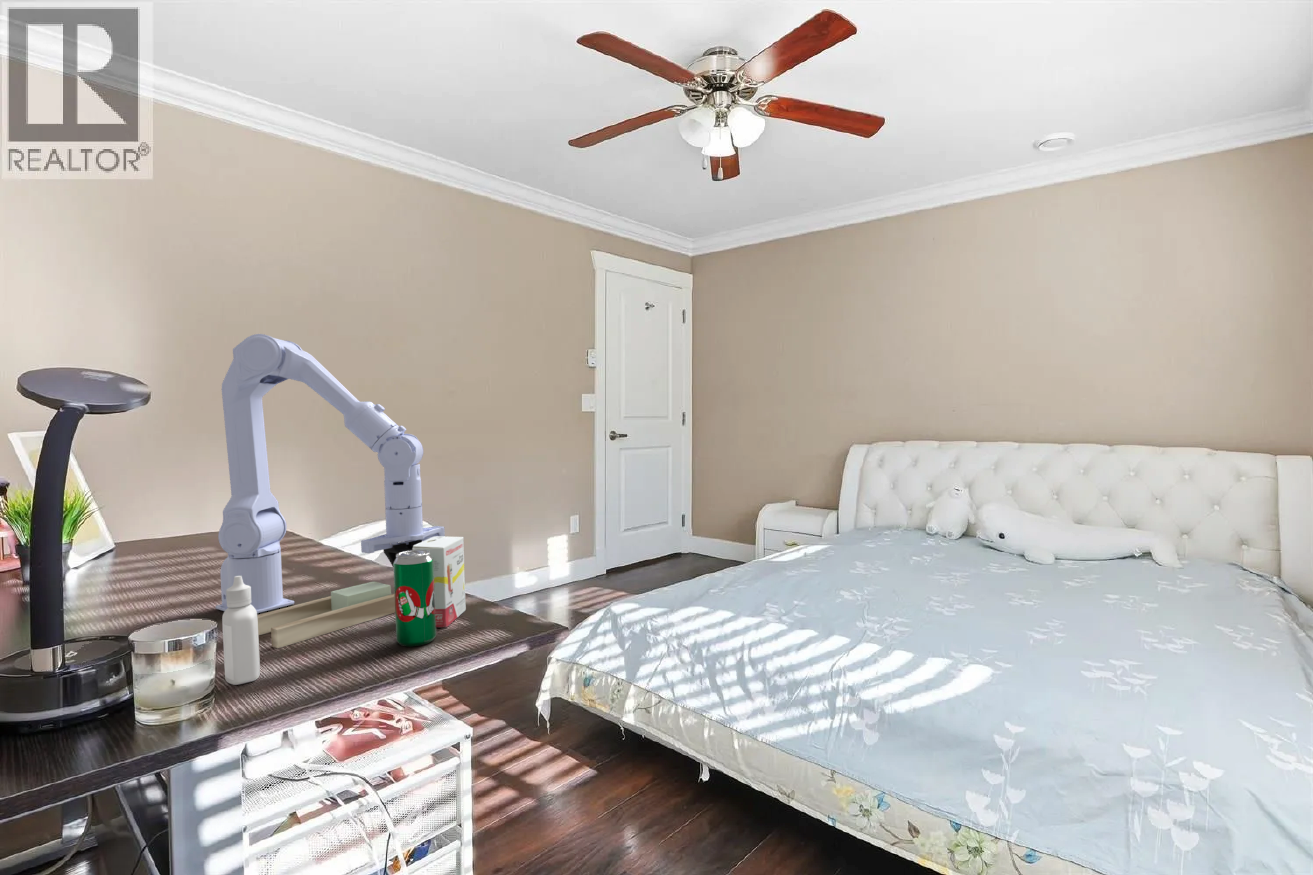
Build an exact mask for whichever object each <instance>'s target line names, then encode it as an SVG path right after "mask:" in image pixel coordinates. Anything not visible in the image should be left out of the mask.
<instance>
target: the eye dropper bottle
mask: <svg viewBox="0 0 1313 875" xmlns="http://www.w3.org/2000/svg"><path fill="white" fill-rule="evenodd" d="M226 598H227V607H228V608H227V609H226V610H225V611H223V613H222V617H221V618H222V619H221V620H222V621H221V622H222V640H223V642H222V643H223V664H224V678H225V679H224V680H225V681H226V682H227V683H228V684H230V685H232V686H233V685H234V686H237V685H239V686H240V685H242V684H247V683H251V682H255V681H257V679H258V678H259V677H260V675H261V663H260V662H261V661H260V644H259V643H260V641H259V635H258V618H257V615H258V613H257V611H256V609H255V608H254V607H253V606H252V605H251V604H250V603H251V587H250V586H248V585H245V584H244V583H243V580H242V576H235V577H234V582H233V585H232V587H230V588H228V589H227V590H226Z"/></svg>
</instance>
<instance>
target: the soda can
mask: <svg viewBox="0 0 1313 875" xmlns="http://www.w3.org/2000/svg"><path fill="white" fill-rule="evenodd" d="M396 557H397V558H396V559H395V561H394V563H393V566H392V568H393V587H394V589H393V590H394V592H393V594H395V613H394V614H395V616H394V617H395V618H394V620H395V637H396V638H395V640H396V641H397V643H398V644H399V645H401V646H403V647H406V648H407V647H409V648H410V647H420V646H424V645H427V644H429V643H431V642H432V641H434V639H435V638H436V636H437V627H436V613H435V587H434V560H433V558H432V557H431V555H430V551H427V550H411V551H405V552H401V553H398V554H396Z"/></svg>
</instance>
